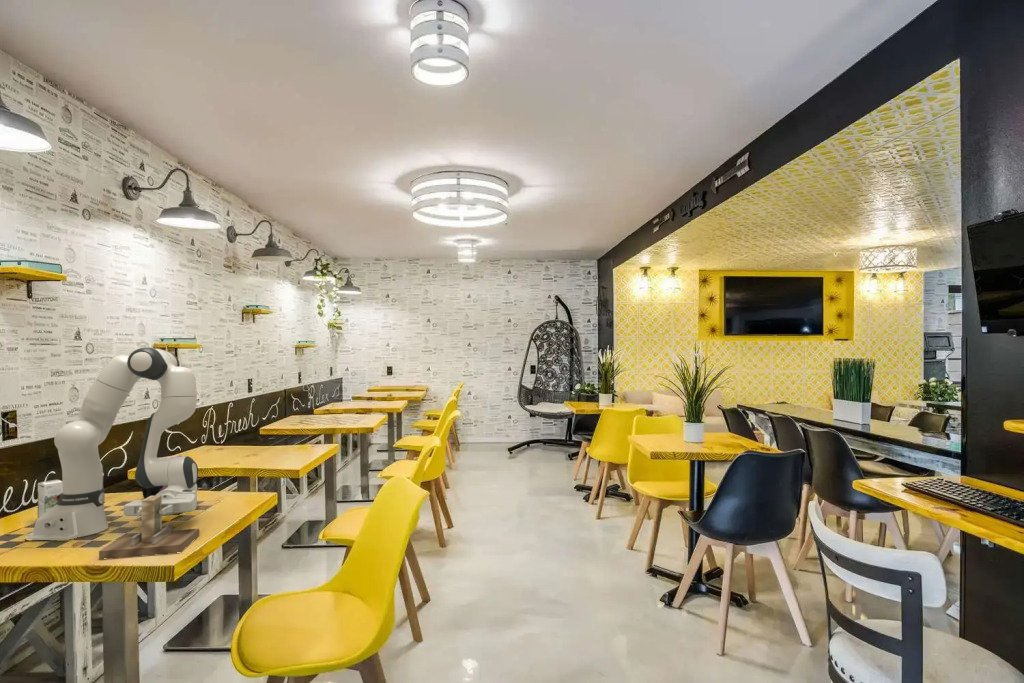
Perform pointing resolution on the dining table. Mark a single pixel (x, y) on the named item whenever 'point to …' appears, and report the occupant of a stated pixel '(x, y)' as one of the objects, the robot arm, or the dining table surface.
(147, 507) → the tan wooden block
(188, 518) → the dining table surface
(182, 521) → the dining table surface
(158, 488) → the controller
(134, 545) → the notch board
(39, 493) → the syrup box
